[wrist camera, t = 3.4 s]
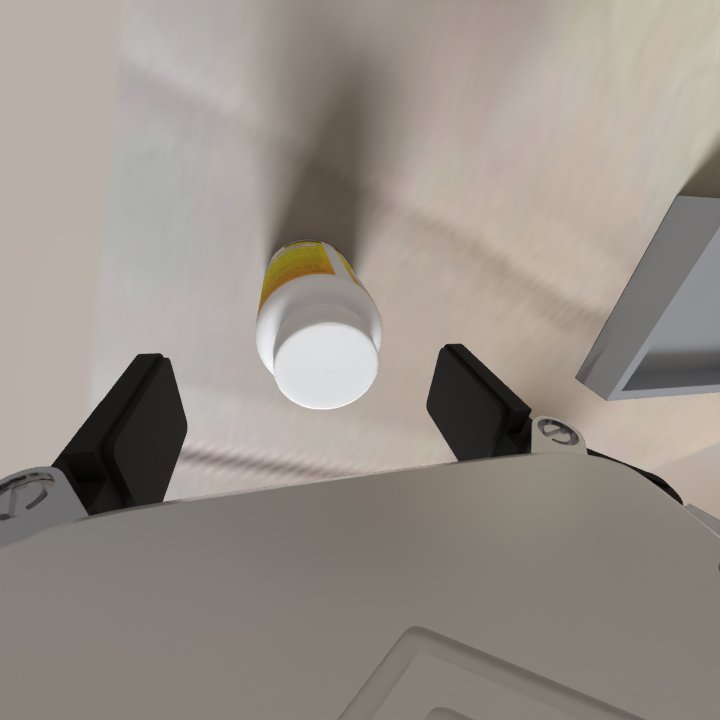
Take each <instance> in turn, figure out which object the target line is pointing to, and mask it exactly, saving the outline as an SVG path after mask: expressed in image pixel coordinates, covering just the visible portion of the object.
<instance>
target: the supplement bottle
mask: <svg viewBox="0 0 720 720" xmlns="http://www.w3.org/2000/svg"><path fill="white" fill-rule="evenodd" d="M382 334H383V328H382V321H381V316H380V313H379V311H378V309H377V307H376V305H375V303H374V301H373V299H372V298H371V296H370V295H369V293H368V292H367V290H366V289H365V287H364V286H363V284H362V283H361V281H360V280H359V278H358V277H357V275H356V273H355V272H354V271H353V269H352V268H351V266H350V265H349V263H348V262H347V260H346V259H345V258H344V256H343V255H342V254H341V253H340V252H339V251H338V250H336V249H335V248H334V247H332V246H331V245H329V244H327V243H324V242H321V241H317V240H308V239H307V240H299V241H294V242H291V243H289V244H287V245H285V246H284V247H282V248H281V249H280V250H278V251H277V252H276V253H275V255H274V256H273V257H272V258H271V260H270V262H269V264H268V266H267V268H266V271H265V276H264V282H263V287H262V293H261V299H260V305H259V311H258V316H257V322H256V333H255V336H256V345H257V349H258V352H259V355H260V357H261V359H262V361H263V363H264V364H265V366H266V367H267V368H268V369H269V370H270V372H271V373H272V374H273V375H274V377H275V380H276V382H277V385H278V386H279V388H280V390H281V391H282V392H283V393H284V394H285V395H286V396H287V397H288V398H289V399H290V400H292V401H293V402H295V403H297V404H299V405H301V406H304V407H307V408H312V409H333V408H338V407H341V406H344V405H346V404H349V403H351V402H353V401H355V400H356V399H358V398H359V397H360V396H362V395H363V394H364V393H365V392H366V391H367V390H368V388H369V387H370V386H371V384H372V383H373V381H374V379H375V377H376V374H377V371H378V366H379V357H378V352H379V349H380V346H381V343H382Z"/></svg>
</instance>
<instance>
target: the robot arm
mask: <svg viewBox="0 0 720 720" xmlns="http://www.w3.org/2000/svg"><path fill="white" fill-rule="evenodd" d="M427 411H428V413H429V414H430V416H431V418H432V419H433V421H434V422H435V424H436V426H437V427H438V429H439V430H440V432H441V434H442V435H443V437H444V439H445V440H446V442H447V443H448V445H449V447H450V448H451V450H452V451H453V453H454V455H455V456H456V458H457V459H458V461H459V462H451V463H443V464H435V465H427V466H419V467H411V468H404V469H396V470H389V471H381V472H374V473H366V474H358V475H351V476H344V477H336V478H329V479H321V480H314V481H307V482H299V483H292V484H285V485H278V486H271V487H263V488H256V489H249V490H242V491H235V492H227V493H220V494H213V495H206V496H200V497H193V498H186V499H179V500H172V501H166V502H163V499H164V496H165V493H166V491H167V488H168V485H169V482H170V479H171V476H172V473H173V471H174V468H175V465H176V462H177V459H178V456H179V454H180V451H181V448H182V445H183V442H184V439H185V436H186V433H187V420H186V417H185V413H184V409H183V406H182V402H181V398H180V394H179V391H178V387H177V383H176V380H175V376H174V372H173V369H172V365H171V362H170V359H169V358H164V357H163V356H162V354H160V353H156V354H138V355H137V356H136V357H135V359H134V360H133V361H132V363H131V364H130V365H129V366H128V368H127V369H126V370H125V372H124V373H123V374H122V376H121V377H120V378H119V379H118V381H117V382H116V383H115V385H114V386H113V387H112V389H111V390H110V391H109V392H108V394H107V395H106V396H105V398H104V399H103V400H102V401H101V402H100V403H99V405H98V406H97V407H96V408H95V410H94V411H93V412H92V414H91V415H90V416H89V417H88V419H87V420H86V421H85V423H84V424H83V425H82V427H81V428H80V429H79V430H78V432H77V433H76V434H75V436H74V437H73V438H72V440H71V441H70V442H69V443H68V445H67V446H66V447H65V449H64V450H63V451H62V452H61V454H60V455H59V456H58V458H57V459H56V460H55V462H54V463H53V464H52V465H51V467H49V466H48V467H35V468H31V469H26V470H23V471H20V472H17V473H15V474H12V475H9V476H7V477H5V478H3V479H1V480H0V720H720V520H719V519H717V518H715V517H713V516H712V515H710V514H708V513H706V512H704V511H702V510H701V509H699V508H697V507H695V506H693V505H692V504H688V505H687V506H686V507H685V506H683V502H682V500H681V498H680V497H679V495H678V494H677V493H676V492H675V491H674V489H673V488H671V487H670V486H669V485H668V484H667V483H666V482H665V481H664V480H663V479H661V478H660V477H658V476H656V475H654V474H652V473H649V472H646V471H643V470H641V469H638V468H636V467H633V466H631V465H628V464H626V463H623V462H621V461H618V460H616V459H613V458H610V457H608V456H605V455H603V454H600V453H598V452H595V451H593V450H590V449H588V448H586V444H585V440H584V438H583V436H582V434H581V433H580V432H579V431H578V430H577V429H576V428H574V427H573V426H572V425H570V424H568V423H567V422H565V421H563V420H560V419H558V418H554V417H550V416H538V417H536V418H534V419H533V420H532V419H531V418H530V417H529V415H530V413H531V411H532V409H531V408H529V407H528V406H527V405H526V404H525V403H524V402H523V401H522V400H521V399H520V398H519V397H518V396H517V395H516V394H515V393H514V392H512V391H511V390H510V389H509V388H508V387H507V386H506V385H505V384H504V383H503V382H502V381H501V380H500V379H499V378H498V377H497V376H495V375H494V374H493V373H492V372H491V371H490V370H489V369H488V368H487V367H486V366H485V365H484V364H483V363H482V362H481V361H480V360H478V359H477V358H476V357H475V356H474V355H473V354H472V353H471V352H470V351H469V350H468V349H467V348H466V347H465V346H464V345H462V344H446V345H445V346H444V348H441V350H440V352H439V356H438V360H437V364H436V367H435V371H434V375H433V379H432V383H431V387H430V391H429V395H428V399H427Z"/></svg>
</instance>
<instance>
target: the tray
mask: <svg viewBox="0 0 720 720" xmlns="http://www.w3.org/2000/svg"><path fill="white" fill-rule="evenodd" d="M576 379H577V380H578V381H580V382H581V383H582V384H584V385H585V386H587V387H588V388H589V389H591V390H592V391H593V392H595V393H596V394H598V395H599V396H600V397H602V398H603V399H604V400H606V401H612V400H625V399H638V398H650V397H663V396H676V395H689V394H702V393H715V392H720V198H707V197H693V196H679V195H677V197H676V198H675V200H674V202H673V204H672V206H671V207H670V209H669V211H668V213H667V215H666V216H665V218H664V220H663V222H662V224H661V225H660V227H659V229H658V231H657V233H656V234H655V236H654V238H653V240H652V242H651V243H650V245H649V247H648V249H647V251H646V252H645V254H644V256H643V258H642V260H641V261H640V263H639V265H638V267H637V269H636V270H635V272H634V274H633V276H632V278H631V279H630V281H629V283H628V285H627V287H626V288H625V290H624V292H623V294H622V296H621V297H620V299H619V301H618V303H617V305H616V306H615V308H614V310H613V312H612V314H611V315H610V317H609V319H608V321H607V323H606V324H605V326H604V328H603V330H602V332H601V333H600V335H599V337H598V339H597V341H596V342H595V344H594V346H593V348H592V349H591V351H590V353H589V355H588V357H587V358H586V360H585V362H584V364H583V366H582V367H581V369H580V371H579V373H578V375H577V376H576Z"/></svg>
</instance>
